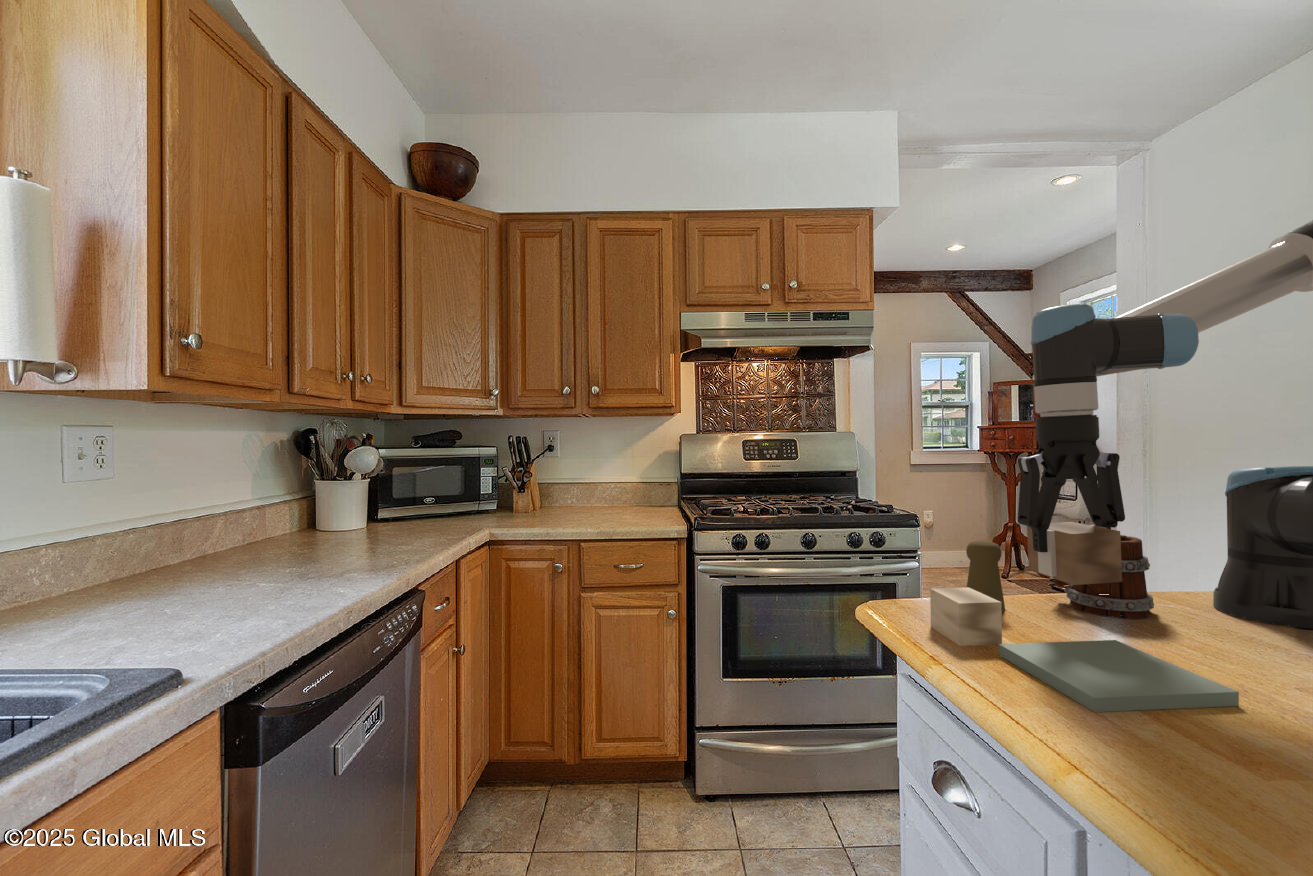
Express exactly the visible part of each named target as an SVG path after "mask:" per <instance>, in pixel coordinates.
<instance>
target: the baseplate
mask: <svg viewBox="0 0 1313 876" xmlns="http://www.w3.org/2000/svg"><path fill="white" fill-rule="evenodd" d="M999 655H1000V656H999ZM998 656H999V657H1001V658H1003V659H1004V660H1006V659H1007V660H1006V661H1008V662H1009V661H1010V663H1011V664H1012V665H1014V664H1015V666H1016V665H1017V666H1016V667H1018V668H1020V669H1021V670H1023V671H1025V672H1026V673H1028V674H1029V673H1030V675H1031V676H1032V677H1035V678H1036V679H1038V680H1040V681H1041V682H1043V683H1044V684H1046V685H1048V686H1050V687H1051V688H1053V689H1055V690H1056V691H1058V692H1060V693H1062V694H1063V695H1065V696H1066V697H1068V698H1070V699H1072V700H1074V701H1075V702H1076V703H1078V704H1080V705H1081V706H1083V707H1085V708H1087V709H1089V710H1090V711H1092V712H1094V713H1101V712H1102V713H1104V712H1124V711H1126V712H1127V711H1128V712H1129V711H1146V710H1147V711H1149V710H1150V711H1153V710H1171V709H1172V710H1173V709H1175V710H1176V709H1195V708H1196V709H1197V708H1198V709H1199V708H1200V709H1201V708H1220V707H1221V708H1222V707H1223V708H1224V707H1240V693H1239V691H1238V690H1235V689H1233V688H1231V687H1228V686H1225V685H1223V684H1221V683H1219V682H1217V681H1215V680H1212V679H1209V678H1206V677H1204V676H1201V675H1200V674H1198V673H1195V672H1192V671H1190V670H1187V669H1185V668H1183V667H1181V666H1178V665H1175V664H1173V663H1171V662H1169V661H1166V660H1164V659H1161V658H1159V657H1157V656H1155V655H1152V654H1149V652H1145V651H1142V650H1141V649H1138V648H1136V647H1133V646H1131V645H1128V644H1126V643H1124V642H1121V641H1119V640H1117V639H1106V640H1102V639H1101V640H1081V641H1080V640H1079V641H1077V640H1076V641H1054V642H1051V641H1049V642H1027V643H1026V642H1024V643H1023V642H1022V643H1002V644H999V645H998Z"/></svg>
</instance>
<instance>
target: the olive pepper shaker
mask: <svg viewBox="0 0 1313 876" xmlns="http://www.w3.org/2000/svg"><path fill="white" fill-rule="evenodd" d="M1001 548H1002V547H1000V545H999V544H997V543H996V542H992V541H988V540H975V541H970V542H969V543H968V544H967V546H966V549H965V551H966V557H967V558H968V560H970V561H969V565H968V567H969V569H968V575H967V583H966V588H967V587H969V588H971V589H973V590H976V591H978V592H980V593H982V594H984V595H987V596H989V597H991V598H993V599H995V600H998V601H1000V602H1001V611H1002V612H1005V611H1006V605H1005V601H1004V600H1005V599H1004V593H1003V587H1002V580H1001V574H1000V568H999V562H1000V560H1001V558H1002V553H1003V552H1002V549H1001Z"/></svg>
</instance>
